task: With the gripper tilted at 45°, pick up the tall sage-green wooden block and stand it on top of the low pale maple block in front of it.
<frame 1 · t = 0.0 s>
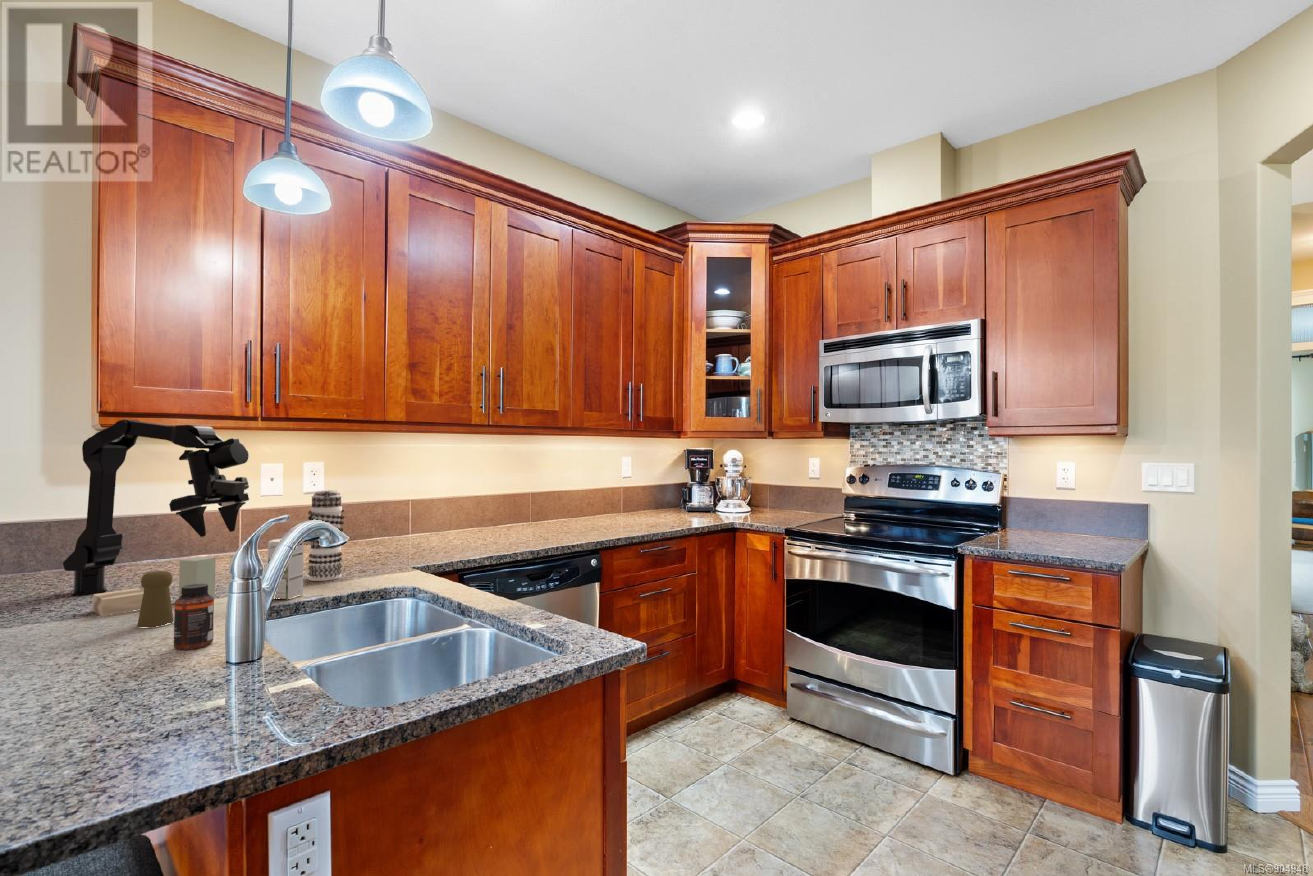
hand: (218, 534, 154), 15 cm above the countertop, tool pointing down, fingers open, 9 cm apart
maple block: (120, 611, 140), on the countertop
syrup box: (285, 598, 153), on the countertop
cork: (155, 625, 129), on the countertop
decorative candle: (325, 578, 177), on the countertop
sage block: (196, 599, 150), on the countertop
supplement bottle: (193, 647, 115), on the countertop
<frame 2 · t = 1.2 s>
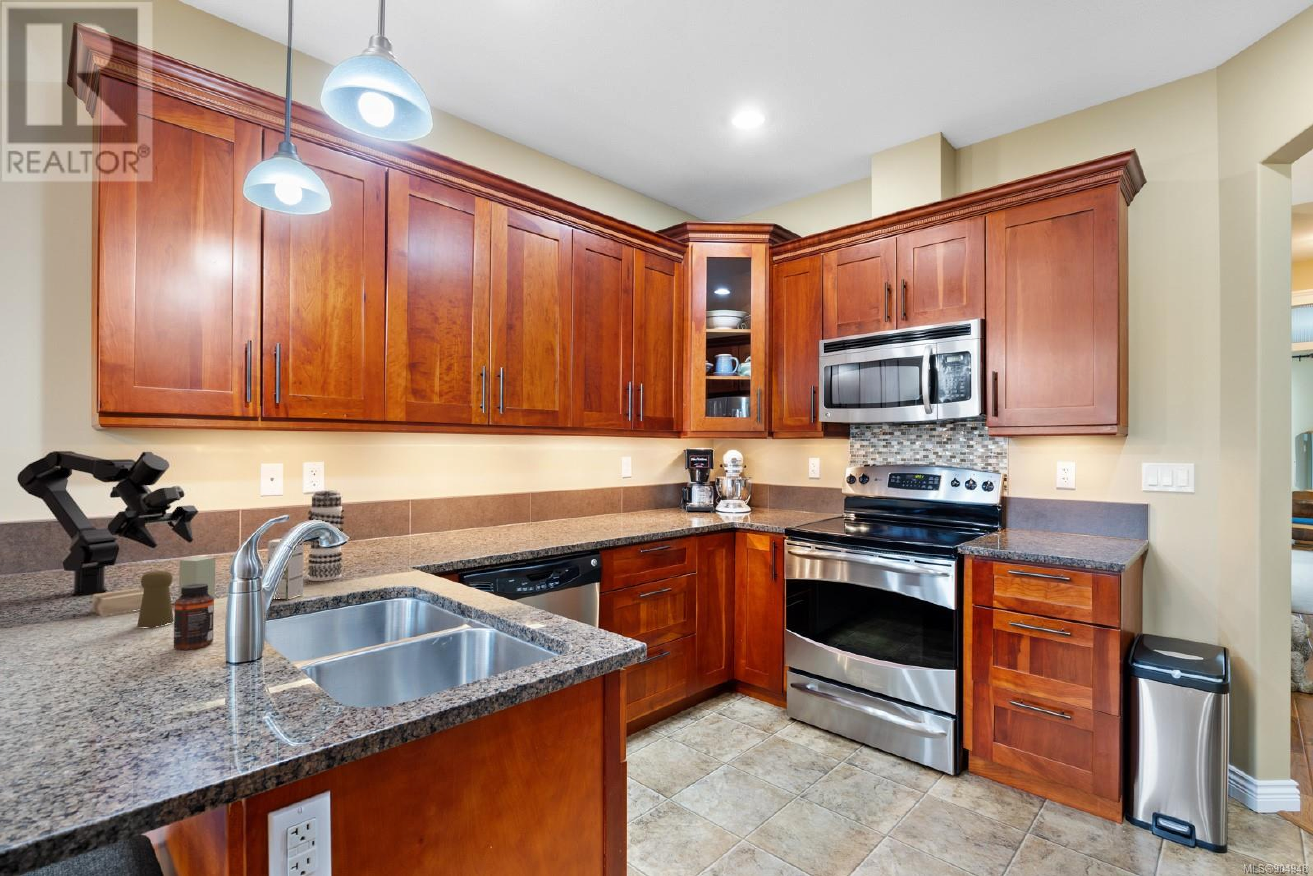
hand: (173, 544, 152), 13 cm above the countertop, tool tilted 45°, fingers open, 9 cm apart
nothing on the countertop moved.
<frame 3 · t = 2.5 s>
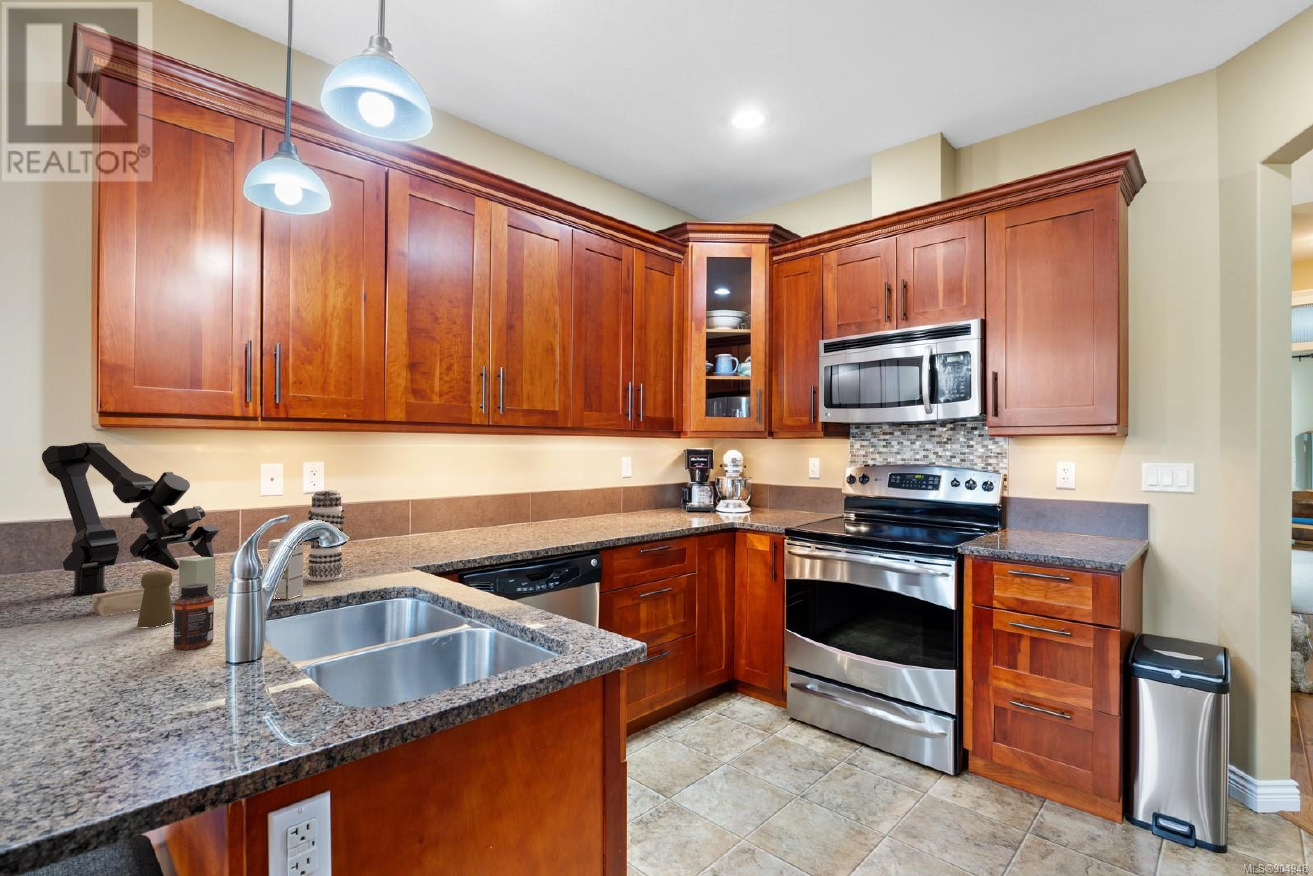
hand: (195, 565, 150), 8 cm above the countertop, tool tilted 45°, fingers open, 9 cm apart
nothing on the countertop moved.
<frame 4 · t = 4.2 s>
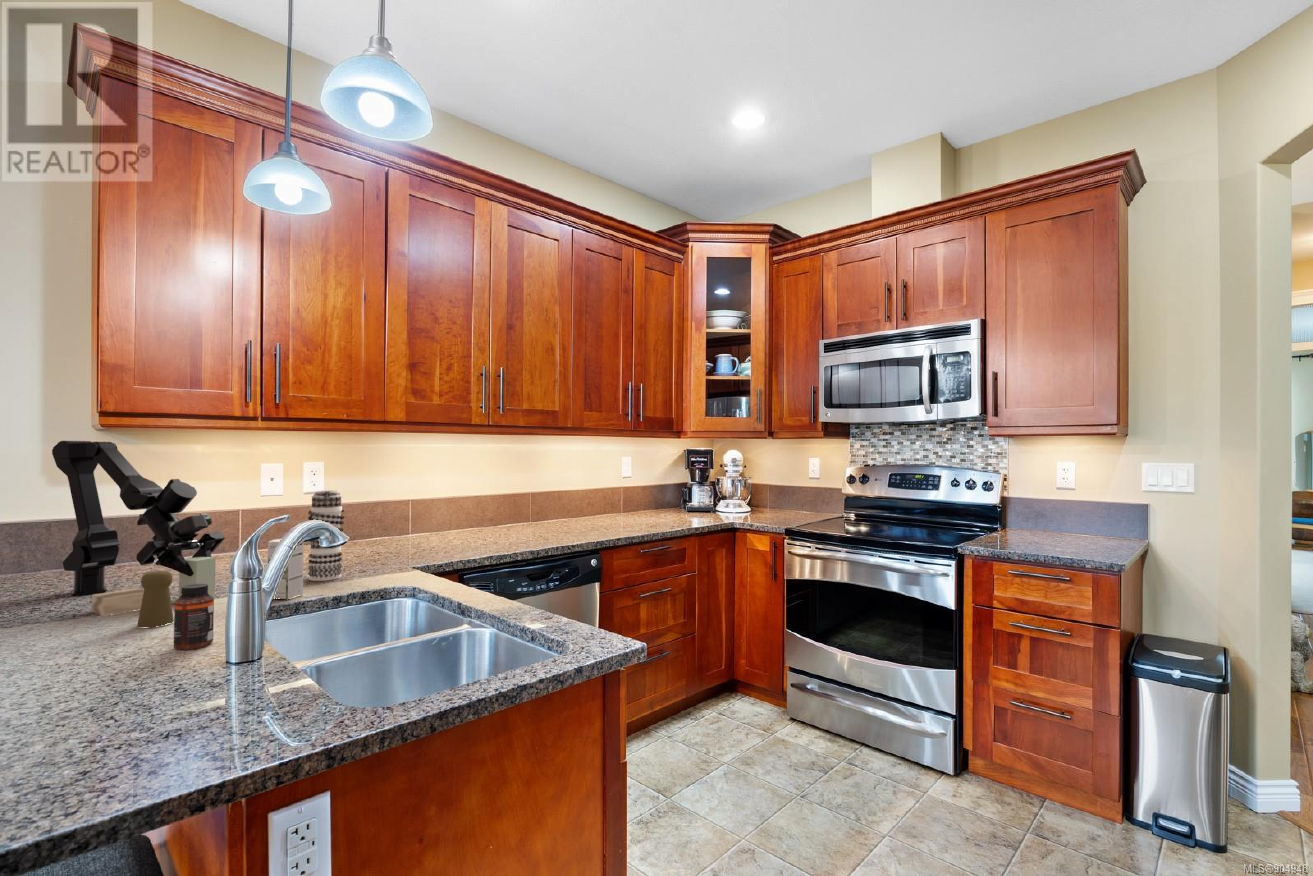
hand: (202, 572, 150), 7 cm above the countertop, tool tilted 45°, fingers closed on sage block, 5 cm apart
sage block: (196, 599, 150), on the countertop, touching gripper
everything else where it was.
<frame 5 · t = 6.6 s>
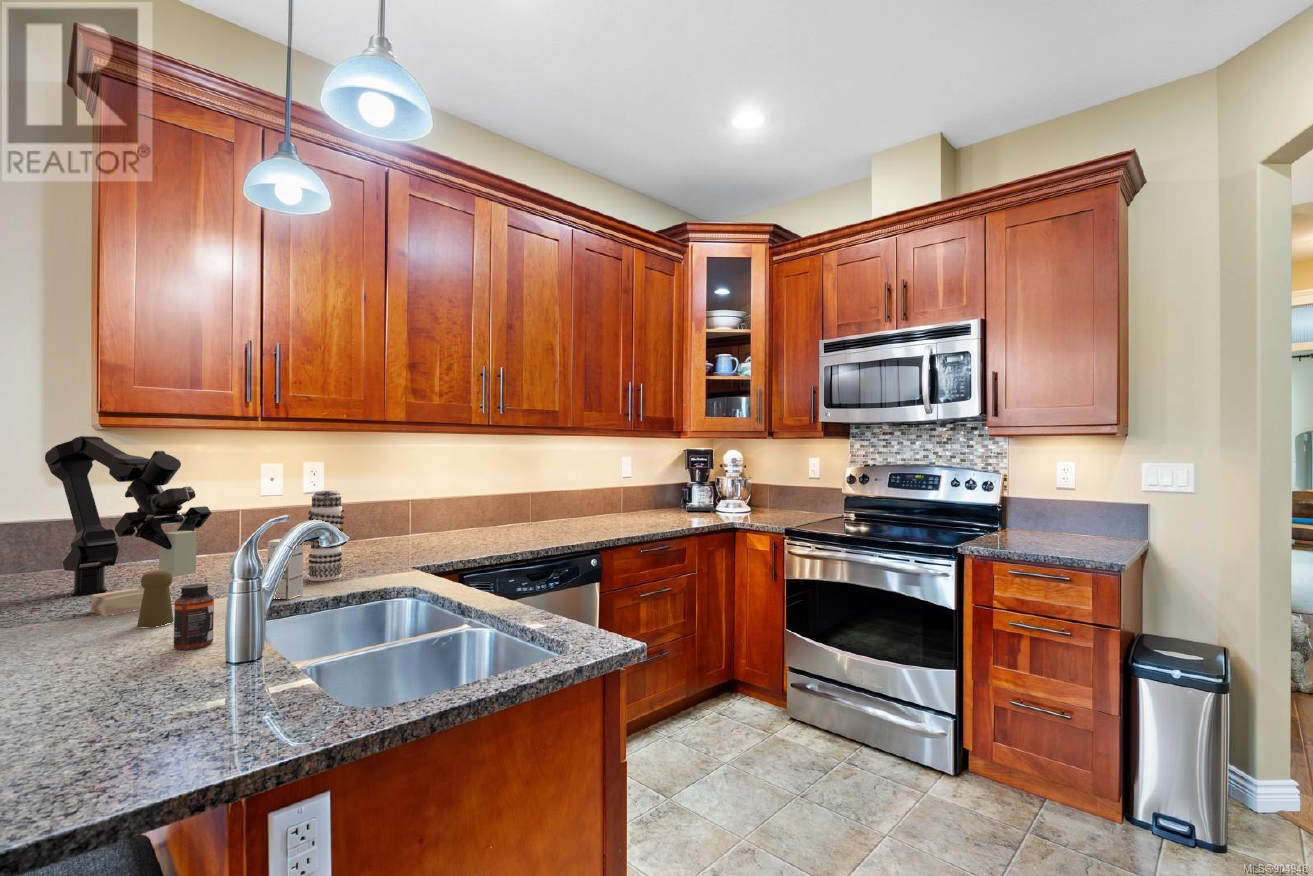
hand: (182, 546, 146), 13 cm above the countertop, tool tilted 45°, fingers closed on sage block, 5 cm apart
sage block: (177, 574, 147), point 7 cm above the countertop, touching gripper
everything else where it was.
when the fingers open (12 cm above the countertop, at t = 8.9 s): sage block drops 2 cm, point 4 cm above the countertop.
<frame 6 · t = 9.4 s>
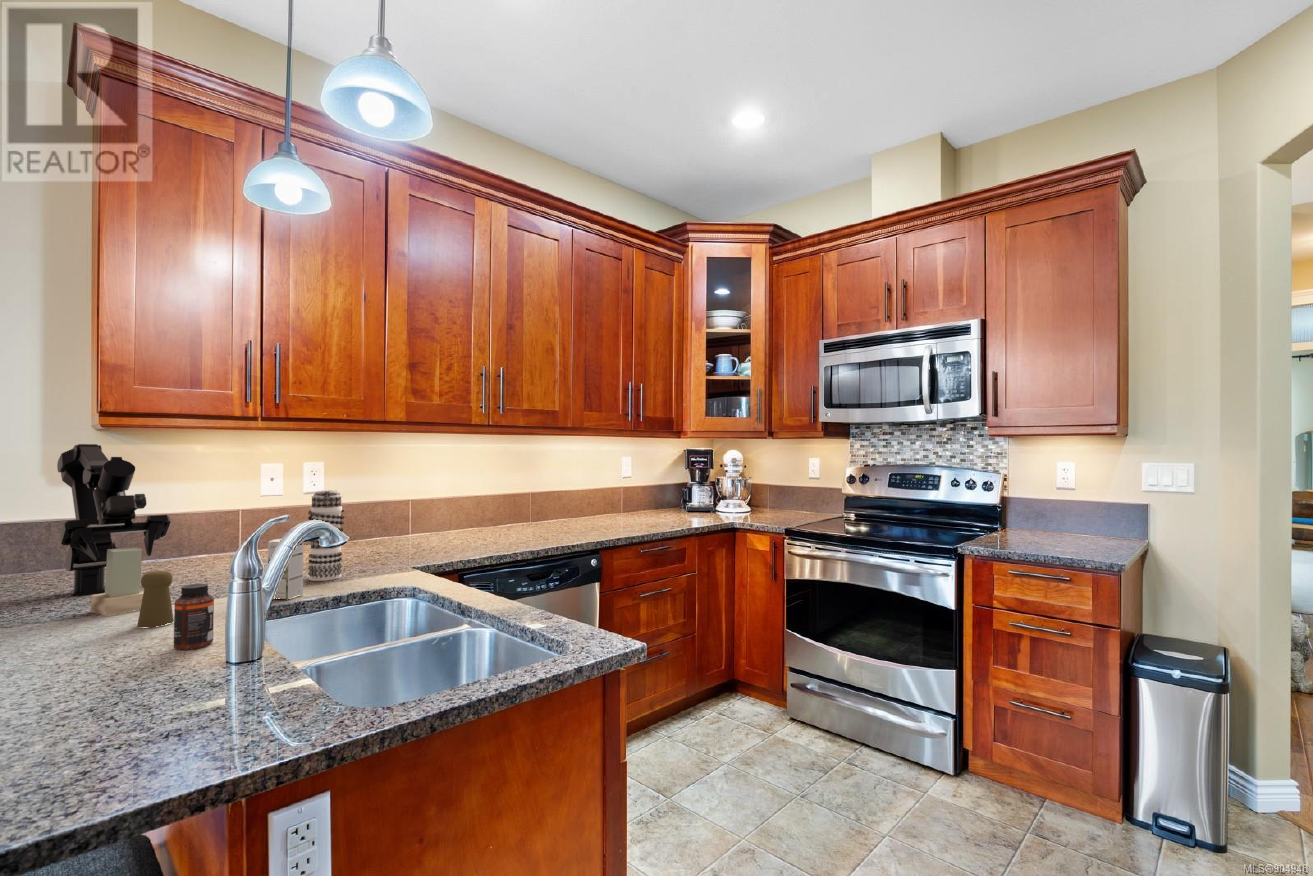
hand: (124, 557, 139), 12 cm above the countertop, tool tilted 45°, fingers open, 9 cm apart
sage block: (122, 593, 140), point 4 cm above the countertop
everything else where it was.
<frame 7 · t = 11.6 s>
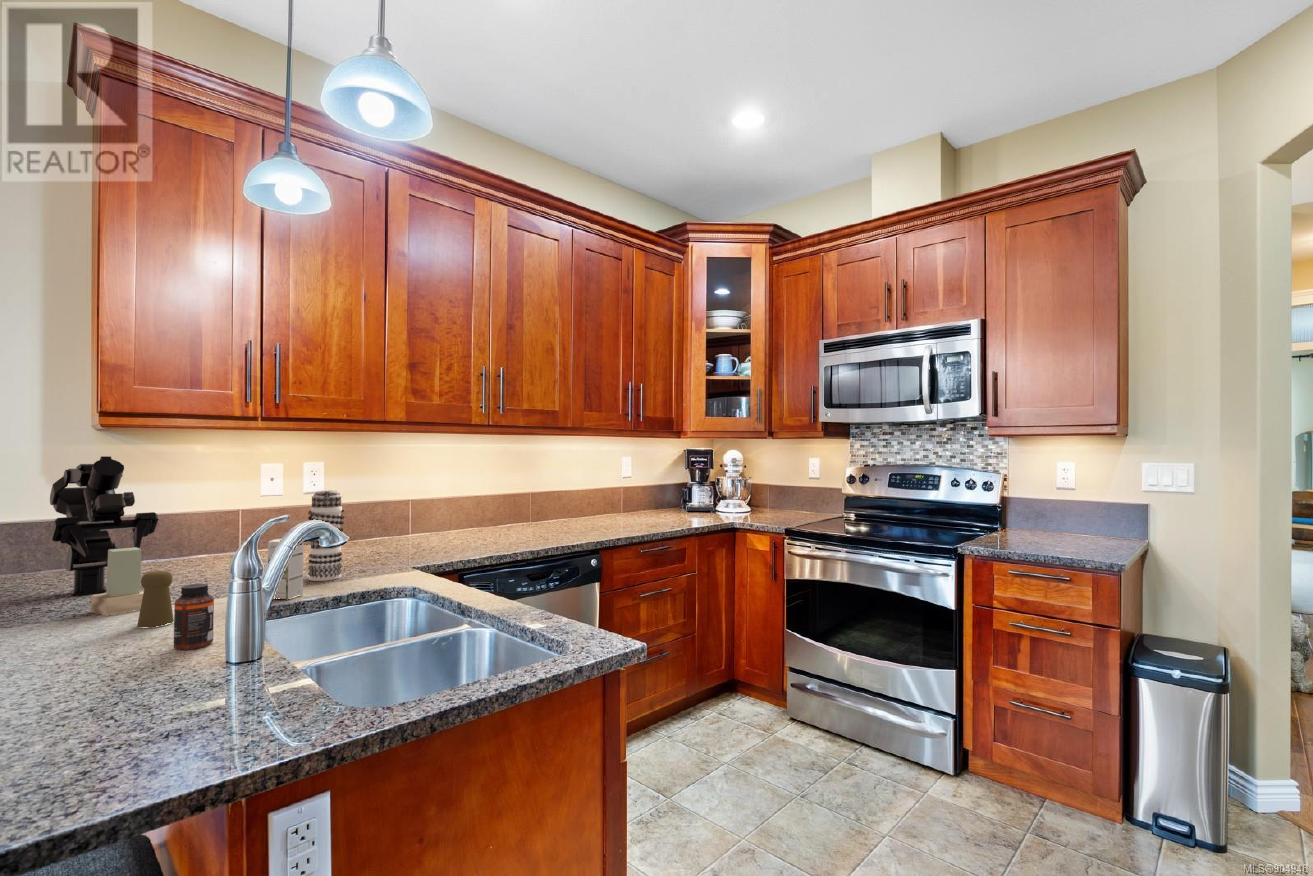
hand: (112, 553, 144), 12 cm above the countertop, tool tilted 45°, fingers open, 9 cm apart
nothing on the countertop moved.
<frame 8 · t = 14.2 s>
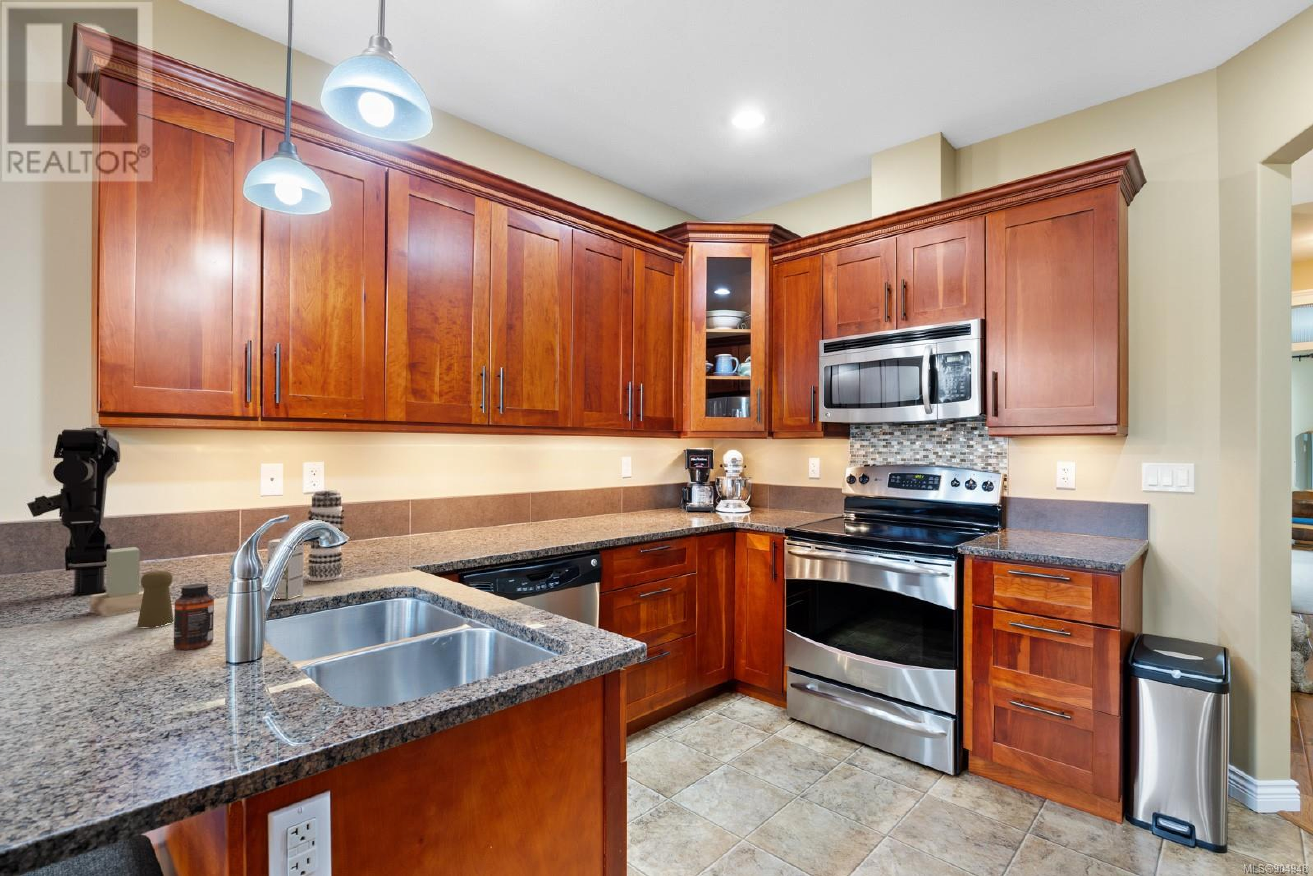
hand: (77, 549, 143), 13 cm above the countertop, tool pointing down, fingers open, 9 cm apart
nothing on the countertop moved.
at the end: sage block 0.4 cm off-centre on the maple block, point 4.1 cm above the maple block's base; sage block tilted 1°; the gripper is holding nothing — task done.
